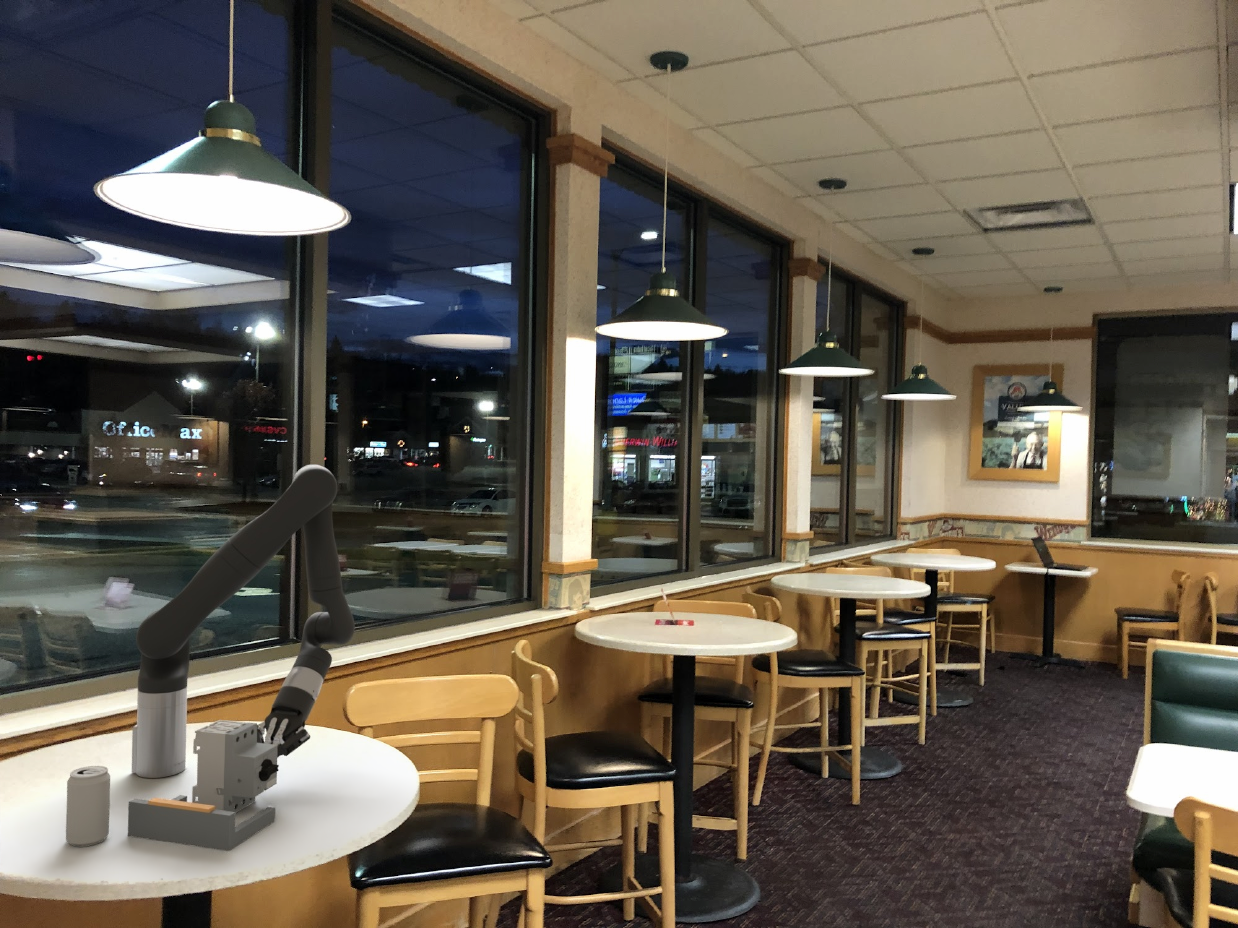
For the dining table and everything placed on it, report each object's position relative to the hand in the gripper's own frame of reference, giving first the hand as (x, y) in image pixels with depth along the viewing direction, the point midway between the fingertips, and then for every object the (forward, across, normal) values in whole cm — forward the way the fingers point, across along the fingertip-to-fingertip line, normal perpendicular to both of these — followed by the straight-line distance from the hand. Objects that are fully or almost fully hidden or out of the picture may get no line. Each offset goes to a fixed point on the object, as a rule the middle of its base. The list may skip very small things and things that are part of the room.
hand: (261, 772), depth 181 cm
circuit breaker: (+8, 0, -2) cm, 8 cm away
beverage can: (+22, -15, -16) cm, 31 cm away
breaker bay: (+15, 0, -9) cm, 17 cm away
